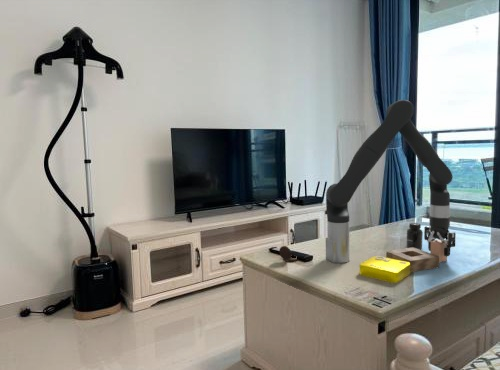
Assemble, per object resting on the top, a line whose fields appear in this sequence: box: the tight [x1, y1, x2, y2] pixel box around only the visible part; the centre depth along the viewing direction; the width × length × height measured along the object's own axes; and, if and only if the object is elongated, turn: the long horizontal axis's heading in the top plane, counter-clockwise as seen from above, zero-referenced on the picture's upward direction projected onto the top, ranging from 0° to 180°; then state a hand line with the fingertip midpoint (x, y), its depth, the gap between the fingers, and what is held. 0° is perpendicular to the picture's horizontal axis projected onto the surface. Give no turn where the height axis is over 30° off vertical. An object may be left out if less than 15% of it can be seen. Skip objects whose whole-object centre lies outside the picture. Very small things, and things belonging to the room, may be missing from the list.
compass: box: [278, 245, 298, 263], centre depth 157 cm, size 8×8×7 cm
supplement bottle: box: [405, 222, 424, 250], centre depth 167 cm, size 7×7×12 cm
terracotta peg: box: [429, 239, 448, 263], centre depth 150 cm, size 4×4×8 cm
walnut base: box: [385, 247, 440, 273], centre depth 146 cm, size 14×14×4 cm
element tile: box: [359, 255, 411, 284], centre depth 137 cm, size 15×15×5 cm
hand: (438, 253), depth 150 cm, fingers open, 7 cm apart
